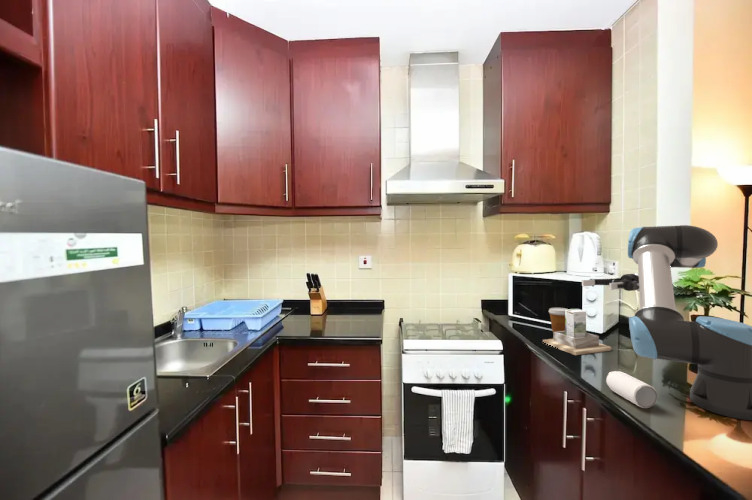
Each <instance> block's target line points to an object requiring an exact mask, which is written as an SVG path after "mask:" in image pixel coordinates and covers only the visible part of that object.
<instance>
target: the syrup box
mask: <svg viewBox="0 0 752 500" xmlns="http://www.w3.org/2000/svg"><path fill="white" fill-rule="evenodd" d="M586 333H587V311H585V310H583V309H580V308H570V309H568V308H566V309H565V335H567V336H570V337H573V338H580V337H586Z"/></svg>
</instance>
